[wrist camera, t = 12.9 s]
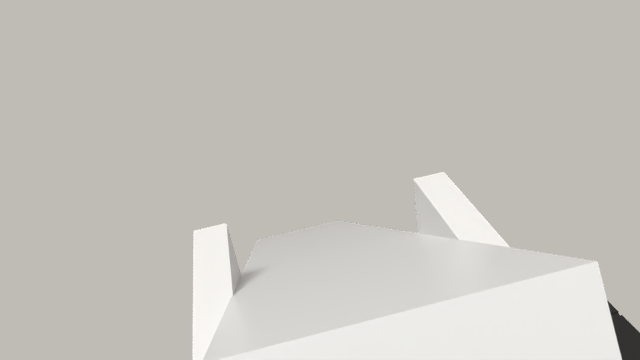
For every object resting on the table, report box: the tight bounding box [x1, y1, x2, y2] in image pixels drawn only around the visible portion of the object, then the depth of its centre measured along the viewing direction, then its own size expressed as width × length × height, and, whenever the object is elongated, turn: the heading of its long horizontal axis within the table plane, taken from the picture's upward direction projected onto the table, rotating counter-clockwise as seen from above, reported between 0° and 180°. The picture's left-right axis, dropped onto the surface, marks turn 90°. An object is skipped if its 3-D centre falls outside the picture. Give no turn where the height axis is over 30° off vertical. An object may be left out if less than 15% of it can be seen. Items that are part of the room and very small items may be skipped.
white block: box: [203, 220, 622, 360], centre depth 19 cm, size 4×25×4 cm, turn 5°
